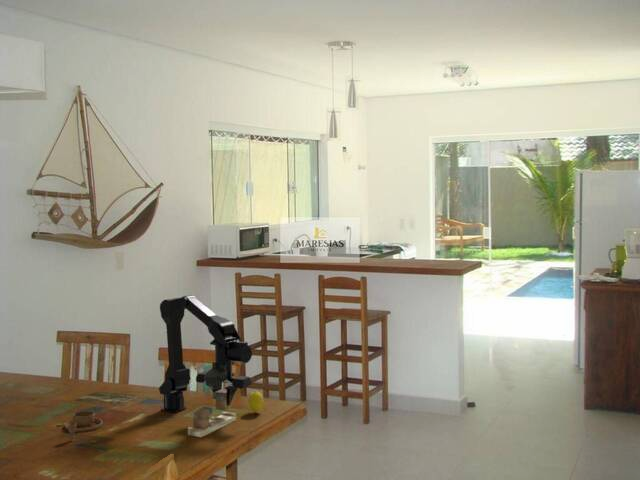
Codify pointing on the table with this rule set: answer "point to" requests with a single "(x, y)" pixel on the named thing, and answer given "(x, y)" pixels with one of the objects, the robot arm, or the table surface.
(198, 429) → the rail
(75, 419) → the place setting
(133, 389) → the table surface
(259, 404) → the lemon
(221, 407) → the gray and beige block
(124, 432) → the table surface
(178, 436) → the table surface
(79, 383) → the table surface
